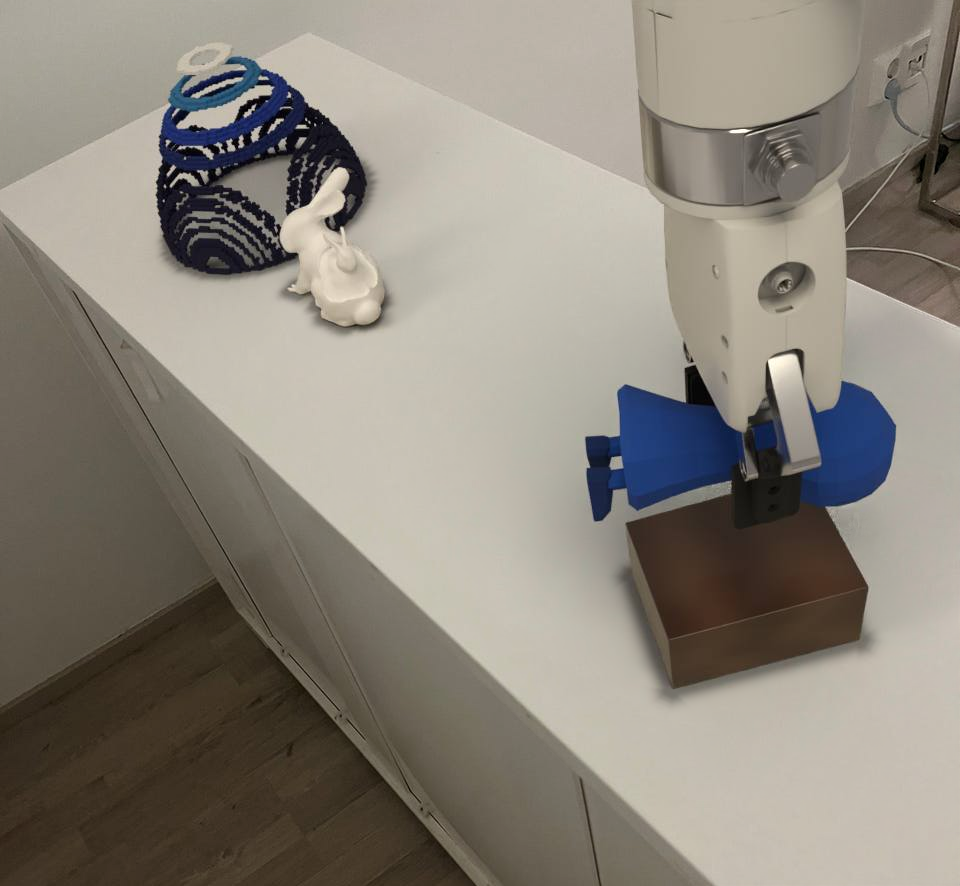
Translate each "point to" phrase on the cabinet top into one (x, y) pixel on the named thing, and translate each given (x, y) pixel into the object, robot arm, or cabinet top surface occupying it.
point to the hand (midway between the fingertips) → (740, 465)
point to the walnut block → (743, 588)
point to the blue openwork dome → (242, 161)
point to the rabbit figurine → (333, 259)
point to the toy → (733, 450)
